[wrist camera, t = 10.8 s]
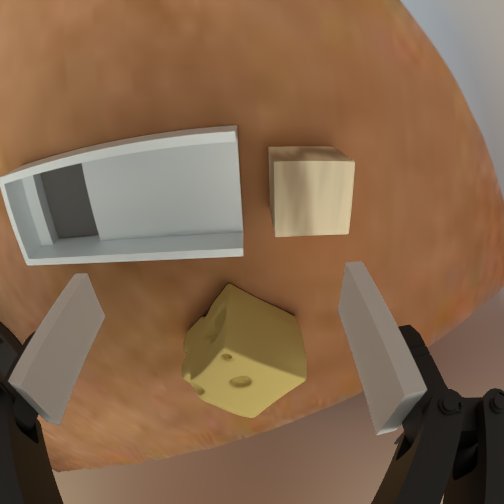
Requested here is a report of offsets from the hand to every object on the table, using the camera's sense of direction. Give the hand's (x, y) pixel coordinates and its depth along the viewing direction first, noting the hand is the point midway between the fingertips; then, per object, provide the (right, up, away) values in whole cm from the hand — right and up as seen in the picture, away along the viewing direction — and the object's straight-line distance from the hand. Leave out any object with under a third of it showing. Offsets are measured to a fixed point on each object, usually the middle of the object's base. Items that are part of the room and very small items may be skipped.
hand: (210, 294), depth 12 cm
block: (+3, +7, +11) cm, 14 cm away
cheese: (+1, -7, +23) cm, 24 cm away
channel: (-11, +8, +14) cm, 20 cm away
